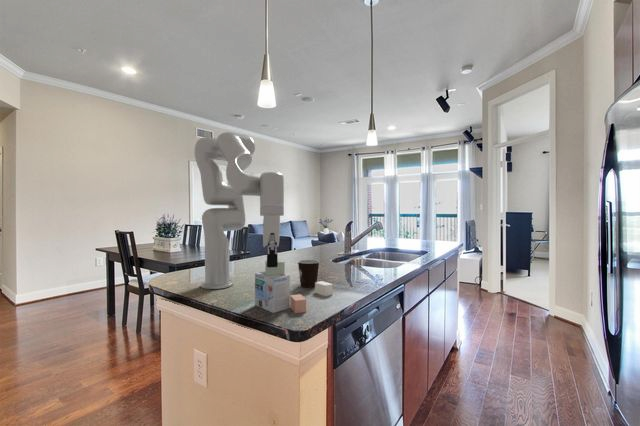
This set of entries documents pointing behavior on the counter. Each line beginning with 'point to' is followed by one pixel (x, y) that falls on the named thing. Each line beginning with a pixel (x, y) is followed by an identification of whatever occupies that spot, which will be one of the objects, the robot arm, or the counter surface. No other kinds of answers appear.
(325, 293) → the brick cream
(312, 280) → the coffee mug
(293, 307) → the brick terracotta
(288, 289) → the light bulb box
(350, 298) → the counter surface
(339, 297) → the counter surface
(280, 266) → the brick sage
